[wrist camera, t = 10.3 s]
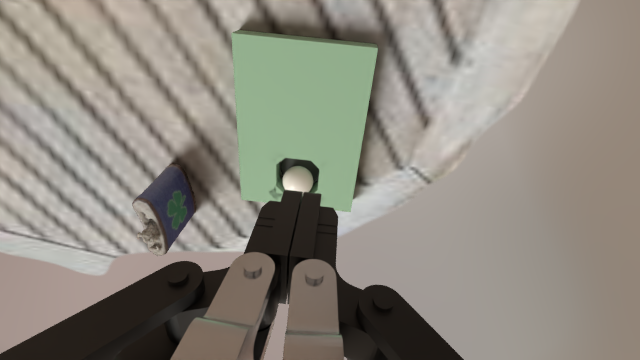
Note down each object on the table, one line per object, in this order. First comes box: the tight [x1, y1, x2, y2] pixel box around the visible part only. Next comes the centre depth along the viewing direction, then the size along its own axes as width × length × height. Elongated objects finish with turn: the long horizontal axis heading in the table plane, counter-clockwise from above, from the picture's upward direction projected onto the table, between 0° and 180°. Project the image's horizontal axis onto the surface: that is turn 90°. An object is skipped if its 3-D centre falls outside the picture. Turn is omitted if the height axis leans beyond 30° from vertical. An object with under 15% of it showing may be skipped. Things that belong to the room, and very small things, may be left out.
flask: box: [132, 164, 196, 256], centre depth 42 cm, size 9×3×11 cm, turn 1°
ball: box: [283, 166, 313, 193], centre depth 42 cm, size 4×4×4 cm
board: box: [232, 30, 378, 212], centre depth 39 cm, size 21×15×2 cm
